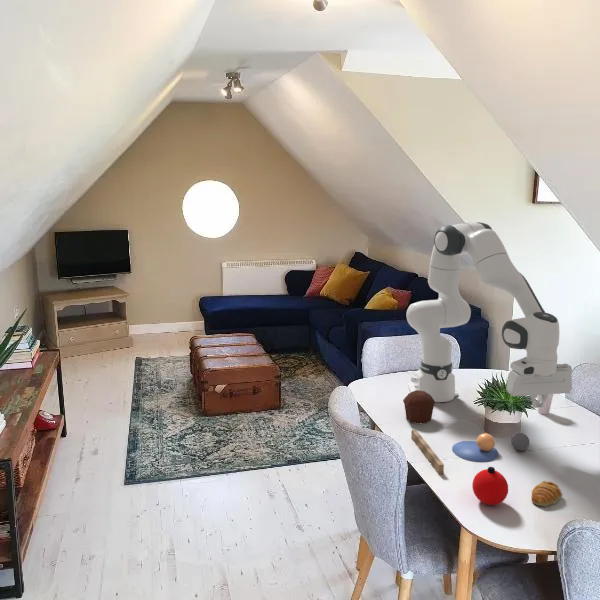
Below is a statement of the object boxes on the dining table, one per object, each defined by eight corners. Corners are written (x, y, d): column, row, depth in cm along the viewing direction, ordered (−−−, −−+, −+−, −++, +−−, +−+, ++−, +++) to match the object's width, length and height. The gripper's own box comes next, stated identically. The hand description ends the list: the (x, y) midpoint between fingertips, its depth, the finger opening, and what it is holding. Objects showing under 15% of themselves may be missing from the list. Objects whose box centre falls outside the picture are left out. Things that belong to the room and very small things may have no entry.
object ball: (492, 441, 181) (477, 449, 181) (486, 427, 180) (471, 435, 180) (500, 449, 176) (484, 457, 175) (494, 434, 174) (478, 442, 174)
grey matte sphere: (526, 432, 181) (514, 445, 182) (516, 426, 178) (504, 439, 180) (536, 444, 176) (524, 456, 177) (526, 437, 174) (514, 450, 175)
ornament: (482, 489, 155) (484, 456, 153) (513, 502, 149) (516, 468, 147) (464, 502, 150) (466, 467, 147) (496, 516, 143) (498, 480, 141)
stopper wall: (411, 438, 187) (411, 429, 186) (415, 438, 187) (416, 429, 187) (438, 474, 164) (438, 464, 163) (443, 474, 164) (443, 464, 163)
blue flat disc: (445, 443, 183) (445, 442, 183) (485, 440, 185) (486, 439, 185) (463, 463, 170) (463, 463, 170) (506, 460, 172) (507, 459, 172)
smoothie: (545, 417, 203) (549, 380, 200) (530, 411, 208) (533, 375, 205) (556, 413, 206) (559, 377, 203) (541, 408, 211) (544, 372, 208)
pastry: (550, 512, 145) (551, 499, 144) (524, 503, 149) (525, 489, 149) (563, 497, 152) (564, 484, 151) (537, 489, 156) (538, 476, 155)
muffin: (408, 410, 210) (409, 384, 208) (438, 415, 205) (439, 389, 203) (398, 421, 200) (399, 395, 198) (429, 428, 195) (430, 400, 193)
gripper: (566, 360, 179) (562, 401, 182) (505, 363, 176) (502, 405, 179) (578, 366, 173) (574, 408, 176) (515, 370, 170) (512, 412, 173)
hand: (537, 407), depth 177 cm, fingers closed
